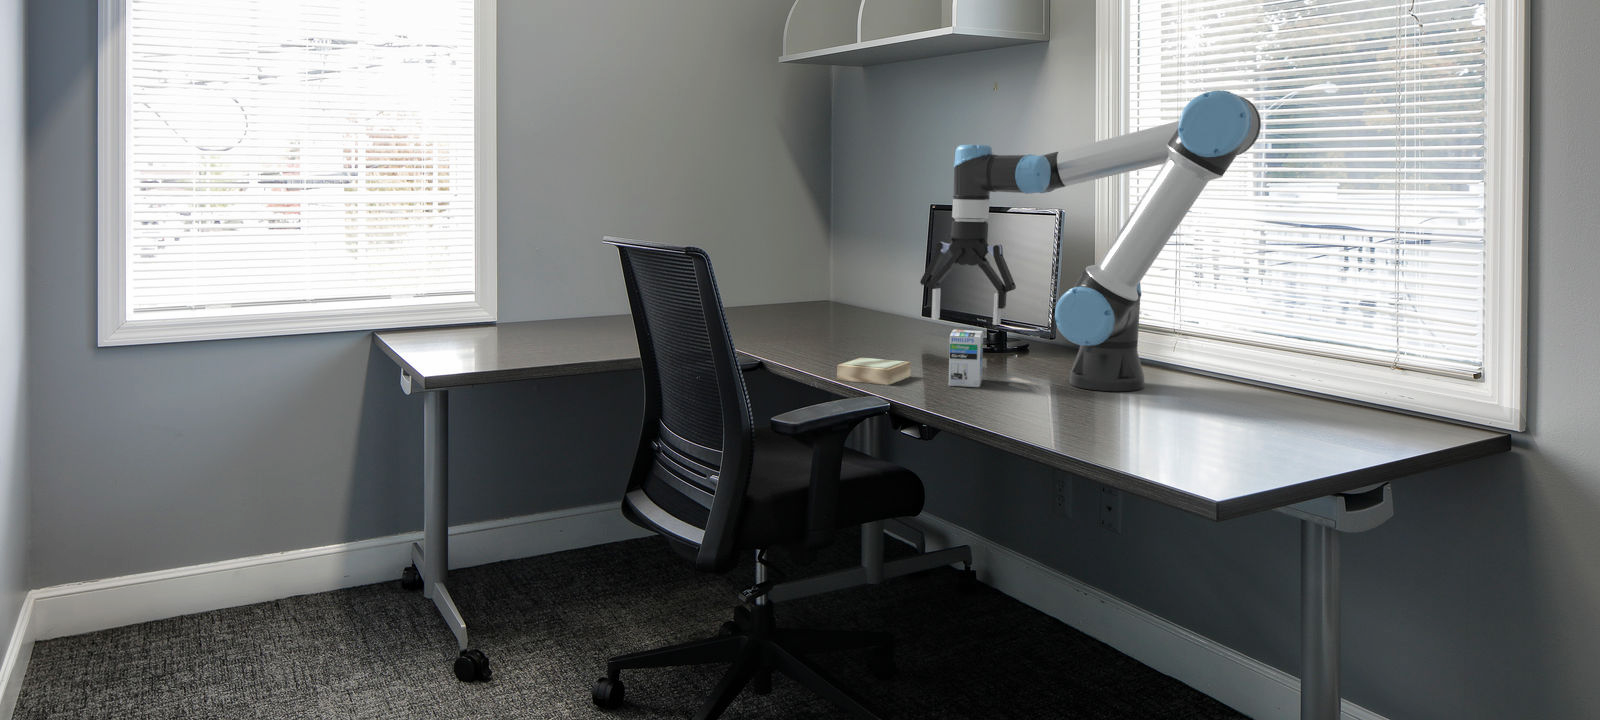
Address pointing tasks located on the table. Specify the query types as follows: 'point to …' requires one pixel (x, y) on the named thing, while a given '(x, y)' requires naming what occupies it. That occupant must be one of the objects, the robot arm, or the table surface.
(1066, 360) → the table surface
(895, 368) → the block
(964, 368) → the light bulb box
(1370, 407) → the table surface
